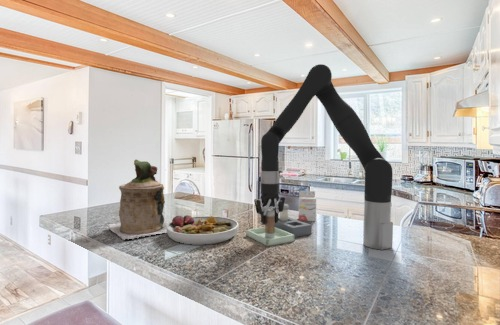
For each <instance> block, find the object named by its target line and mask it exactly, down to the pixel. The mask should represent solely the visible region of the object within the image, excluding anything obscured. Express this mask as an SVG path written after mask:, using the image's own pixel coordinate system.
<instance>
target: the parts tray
mask: <svg viewBox="0 0 500 325" xmlns="http://www.w3.org/2000/svg"><path fill="white" fill-rule="evenodd" d="M245 235H246V237H249V239H252V240H255V241H256V242H258V243H260V244H262V245H264V246H265V247H266V248H268V247H271V246H277V245H282V244H287V243H291V242H295V238H296V237H295V235H294V234H291V233H289V232H286V231H284V230H281V229H279V228H276V227H275V238H271V239H269V238H265V226H261V227H255V228H249V229H246V234H245Z"/></svg>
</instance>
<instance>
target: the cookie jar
mask: <svg viewBox="0 0 500 325" xmlns="http://www.w3.org/2000/svg"><path fill="white" fill-rule="evenodd" d="M133 164H134V172H135V174H136V177H134V178H132V180H131V181H129V182H127V183H125V184H121V185H119V186H118V189H119V190H120V195H121V196H120V199H119V210H118V216H119V222H118V223H110V224H107V227H108V230H109V229H110V231H111V232H112V233H114V234H115V235H117V236H118V237H119V238H120V239H122V240H123V239H124V240H129V239H132V240H135V239H134V238H137V239H139V237H140V238H146V237H145V236H149V237H152V236H151V235H155V236H157V235H156V234H160V235H163V234H162V233H165V232H157V231H159V230H163V231H166V232H167V225H168V224H169V223H170V222H168V221H165V217H164V215H163V213H164V208H165V203H166V201H165V196H164V195H165V194H164V189H165V187H164V184H163V183H160V181H157V179H156V177H155V175H157V174H158V167H157V166H154V165H151V163H150V162H148V161H140V160H138V159H135V160H134V162H133ZM165 234H166V233H165Z"/></svg>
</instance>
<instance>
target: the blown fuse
mask: <svg viewBox="0 0 500 325" xmlns="http://www.w3.org/2000/svg"><path fill="white" fill-rule="evenodd" d="M264 227H265V238H269V239H271V238H275V210H273V209H268V210H267V213H266V224H265V225H264Z"/></svg>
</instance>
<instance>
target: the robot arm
mask: <svg viewBox="0 0 500 325" xmlns="http://www.w3.org/2000/svg"><path fill="white" fill-rule="evenodd" d="M332 77H333V76H332V70H331V69H330V67H328V66H327V65H325V64H315V65H314V66H313V67H311V69H310V70H309V72H308V73H307V76H305V78H304V81H303V83H302V84H301V86H300V87H299V89H298V91H297V92H296V93H295V95H294V96H293V97H292V99H291V100H290V101H289V103H288V104H287V105H286V106H285V108H284V109H283V110H282V112H281V113H280V114H279V116H278V117H277V118H276V120H275V121H274V123H273V124H272V126H271V127H270V128H269V129H268V131H267V132H266V133H264V134H263V135H262V137H261V141H260V142H261V143H260V145H261V169H260V170H261V171H260V172H261V173H260V198H257V199H256V198H254V200H253V201H254V206H255V211H256V213H257V214H259V215H260V221H261V222H260V223H261V224H262V225H264V226H265V224H266V213H267V210H270V209H269V208H271V209H272V210H275V223H277V222H278V218H279V215H280V212H282V211H283V207H284V204H285V200H286V198H285V197H283V196H280V195H279V194H280V174H279V173H280V171H279V169H280V168H279V166H280V164H279V162H280V161H279V149H280V143H281V142H282V140H283V139H284V138H285V136H286V135H287V133H289V132H290V131H291V130H292V128H293V127H294V126H295V125H296V123H297V122H298V120H299V119H300V118H301V116H302V115H303V113H304V111H305V110H306V108H307V107H308V104H309V103H311V100H312V99H313V98H314V97H316V98H317V99H318V100H319V102H320V103H321V104H322V106H323V108H324V109H325V111H326V113H327V115H328V117H329V119H330V120H331V122H332V123H333V126H334V128H335V129H336V131H337V132H338V134H339V135H340V136H341V137H342V140H344V142H345V143H346V145H348V146H349V147H350V149H351V150H352V151H353V153H354V154H355V155H356V157H357V158H358V160H359V162H360V164H361V165H362V166H361V167H362V168H363V170H364V194H363V195H364V196H363V197H364V199H363V200H364V202H363V203H364V204H363V205H364V207H363V208H364V210H363V245H364V246H365V247H367V248H371V249H376V250H381V251H383V250H388V249H391V248H393V237H394V236H393V234H394V232H393V231H394V224H393V221H391V218H392V217H391V214H392V213H391V212H392V211H391V209H392V208H391V206H392V194H393V167H392V165H391V163H390V162H389V161H388V160H386V159H385V157H383V155H382V154H381V153H380V152H379V151H378V149H377V148H376V147H375V146H374V144H373V142H372V139H371V138H370V135H369V133H368V131H367V129H366V127H365V125H364V123H363V122H362V120H361V119H360V117H359V115H358V114H357V112H356V111H355V110H354V108H353V107H352V106H350V104H349V103H348V102H346V101H345V100H344V99H343V98H342V97H341V96H340V95H339V94H340V93H338V91H337V89H336V87H335V86H334V85H333V82H332Z"/></svg>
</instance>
